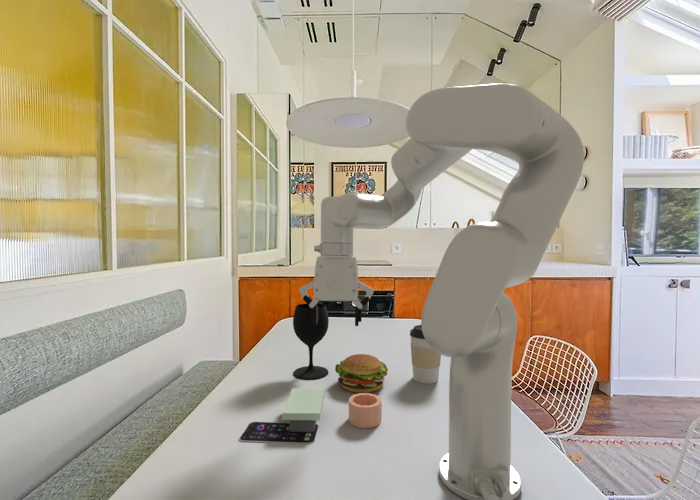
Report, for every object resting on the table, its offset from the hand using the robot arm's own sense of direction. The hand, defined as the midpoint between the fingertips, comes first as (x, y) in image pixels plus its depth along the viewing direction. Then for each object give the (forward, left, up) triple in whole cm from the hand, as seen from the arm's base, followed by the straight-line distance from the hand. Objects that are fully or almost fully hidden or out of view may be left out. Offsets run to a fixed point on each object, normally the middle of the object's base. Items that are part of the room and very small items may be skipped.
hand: (336, 324), depth 84 cm
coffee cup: (+18, -25, -20) cm, 36 cm away
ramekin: (-6, -7, -20) cm, 22 cm away
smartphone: (-11, +11, -20) cm, 25 cm away
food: (+14, -7, -20) cm, 25 cm away
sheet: (-6, +6, -17) cm, 19 cm away
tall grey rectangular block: (-6, +6, -20) cm, 21 cm away
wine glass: (+22, +8, -20) cm, 31 cm away
